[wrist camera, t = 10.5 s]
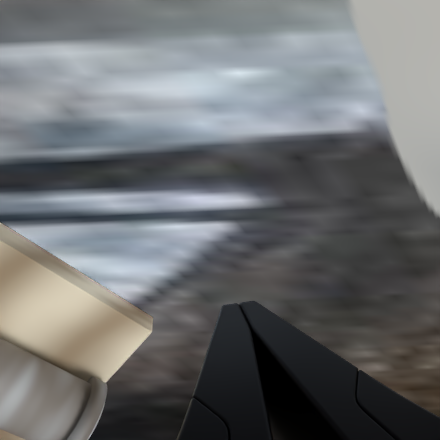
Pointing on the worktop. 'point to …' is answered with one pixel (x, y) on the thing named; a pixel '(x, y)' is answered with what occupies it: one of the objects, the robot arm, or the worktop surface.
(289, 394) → the robot arm
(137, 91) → the worktop surface
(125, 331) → the valve board
